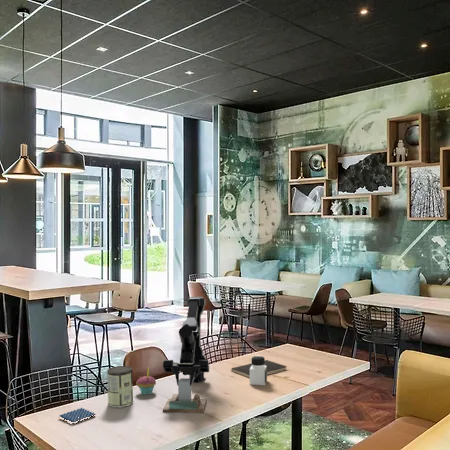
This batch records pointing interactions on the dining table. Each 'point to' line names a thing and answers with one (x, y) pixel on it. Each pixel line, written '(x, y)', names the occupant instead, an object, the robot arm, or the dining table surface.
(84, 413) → the woven mat
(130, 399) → the coffee can
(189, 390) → the block
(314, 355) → the dining table surface
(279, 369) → the hardcover book
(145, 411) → the dining table surface
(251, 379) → the medicine bottle
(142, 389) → the cupcake
